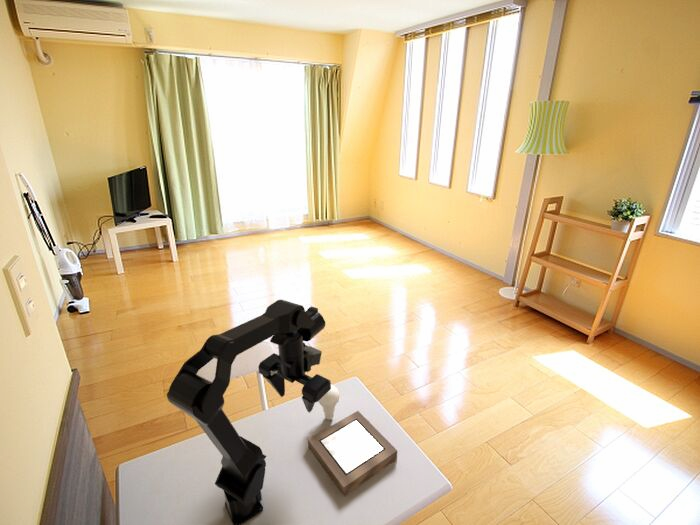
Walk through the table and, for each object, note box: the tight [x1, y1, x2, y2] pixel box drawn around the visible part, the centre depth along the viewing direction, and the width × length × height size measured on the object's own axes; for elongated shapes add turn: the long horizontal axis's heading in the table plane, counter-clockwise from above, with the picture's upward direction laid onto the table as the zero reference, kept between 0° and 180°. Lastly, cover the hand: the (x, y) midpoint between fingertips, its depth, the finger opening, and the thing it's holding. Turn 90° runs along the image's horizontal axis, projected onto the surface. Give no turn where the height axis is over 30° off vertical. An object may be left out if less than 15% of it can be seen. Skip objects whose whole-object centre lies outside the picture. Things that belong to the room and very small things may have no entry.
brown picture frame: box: [307, 410, 398, 497], centre depth 91 cm, size 16×16×3 cm
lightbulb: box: [317, 384, 340, 420], centre depth 101 cm, size 6×6×11 cm
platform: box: [321, 420, 383, 475], centre depth 91 cm, size 11×11×2 cm
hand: (296, 403), depth 90 cm, fingers open, 9 cm apart
